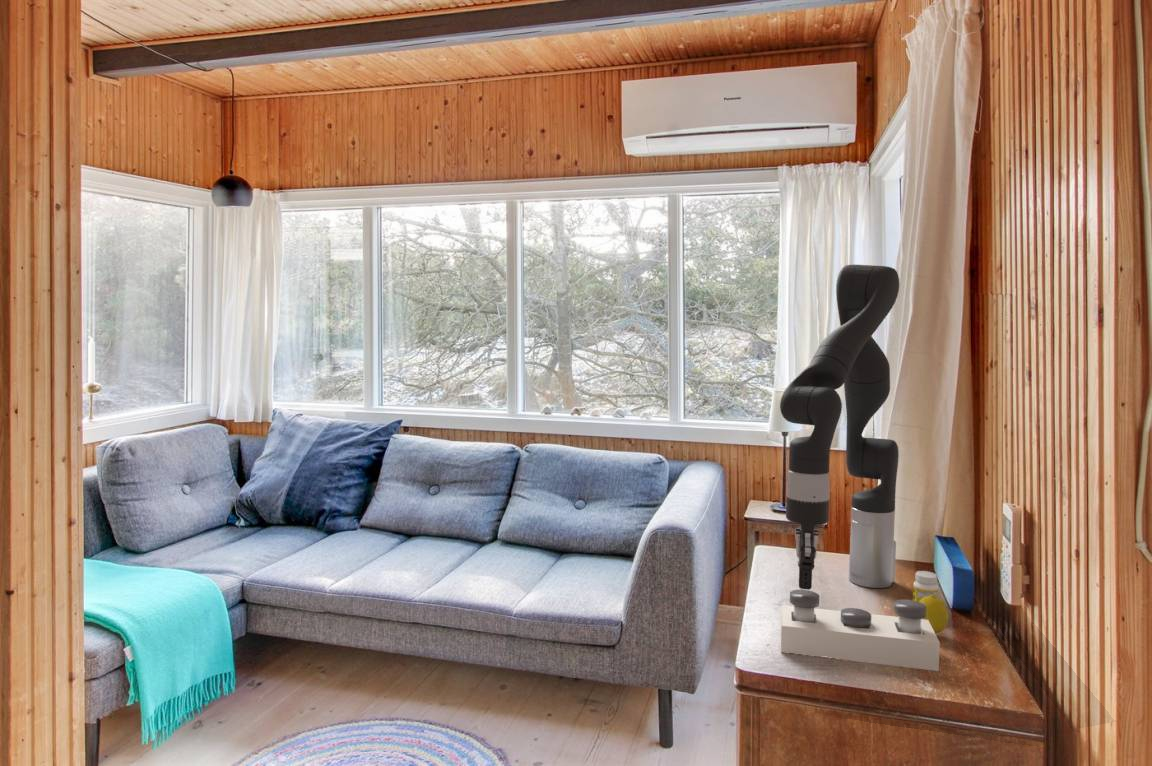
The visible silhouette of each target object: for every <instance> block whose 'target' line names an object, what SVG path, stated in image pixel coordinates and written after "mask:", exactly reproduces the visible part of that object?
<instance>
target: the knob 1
mask: <svg viewBox="0 0 1152 766" xmlns="http://www.w3.org/2000/svg"><path fill="white" fill-rule="evenodd" d="M789 603H790V604H791V605H792V606H794V621H799V622H808V623H814V608H815V609H816V608H818V607H819V605H820V595H819V594H818V593H817V592H815V591H812V590H808V589H794V590H791V591H790V592H789Z"/></svg>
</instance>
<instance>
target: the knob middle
mask: <svg viewBox="0 0 1152 766" xmlns="http://www.w3.org/2000/svg"><path fill="white" fill-rule="evenodd" d="M840 611H841V622H842V623H844V624H845V626H846V627H856V628H865V629H866V627H869V626H870V625H871V614H872V613H870V612H869V611H867V610H864V609H862V608H856V607H855V608H854V607H845V608H843V609H841V610H840Z"/></svg>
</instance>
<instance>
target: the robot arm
mask: <svg viewBox="0 0 1152 766" xmlns="http://www.w3.org/2000/svg"><path fill="white" fill-rule="evenodd" d="M835 286H836V288H835V289H836V290H835V293H836V294H835V295H836V304H837V311H838V318H839V325H840V326H839V327H837V328H836V329H834V330H832V332H830V333H829V334H828V335H827V336H826V337H824V339H823V340H822V341H821V342H820V344H819V345H818V348H817V350H816V351H815V353H814V355H813V357H812V359H811V361H810V363H809V365H807V366H806V367H804V369H803V370H802V371H801V372H800V373H799V374H798V375H797V376H796V377H795V378H794V379H793V380H792V381H791V382H790V383H789V385H787V386H786V388H785V389H784V391H783V393H782V395H781V398H780V404H779V409H780V413H781V416H782V417H783V419H784V420H785V421H787V422H789V423H792V424H796V425H805V426H806V425H808V426H814V427H813V430H812V432H811V434H810V436H799V437H795V438H793V439H792V440H791V441H790V443H789V453H788V474H787V478H786V496H785V497H786V499H785V501H786V502H785V505H786V506H785V518H786V519H787V521H789V522H790V523H794V524H799V527H796V528H795V529H794V530H795V531H794V535H795V542H796V543H795V547H796V548H795V552H796V557H797V558H798V561H797V567H798V570H799V571H798V587H799V589H800V590H809V591H811V589H812V587H813V586H812V583H813V580H812V579H813V571H814V569H815V559H816V558H817V550H818V549H817V547H818V544H819V533H818V532H819V531H818V529H815V526H823V525H826V524H827V523H828V522H829V520H830V497H831V496H830V494H831V492H830V491H831V482H830V481H831V480H830V452H831V447H832V443H833V439H834V435H835V432H836V429H837V426H838V424H839V420H840V417H841V415H842V408H843V404H842V403H843V402H842V400H841V399H842V398H841V397H840V394H839V393H838V391H836V390H837V389H840V388H841V387H842V386H843V388H844V389H843V390H844V398H845V399H844V400H845V411H846V439H845V440H846V444H845V447H846V448H845V461H846V464H845V465H846V470H847V472H848V473H849V476H850V475H851V476H853V477H855V478H862V479H869V480H870V479H873V480H880V483H879V484H878V485H877V486H874V487H872V488H870V489H865V490H861V491H860V490H859V491H857V492H854V493H853V494H852V497H851V509H850V511H851V512H850V539H849V542H850V543H849V564H848V565H849V568H848V573H849V574H848V580H849V581H850V582H852V584H855V585H857V586H860V587H861V586H862V587H865V588H873V589H884V588H889V587H891V586H892V585H893V583H895V580H896V579H895V578H896V554H897V553H896V552H897V542H896V541H895V523H896V522H895V519H896V518H895V517H896V516H895V515H896V488H897V477H898V467H899V456H900V455H899V446H898V443H897V442H896V441H895V440H893V439H888V438H887V439H886V438H878V437H876V438H875V437H865V436H863V433H864V431H865V428H866V427H867V424H869V421H870V420H871V419H872V418H873V416H874V415H876V413H877V412H878V411H879V410H880V408H881V407H882V406H883V405H884V403H885V402H886V401H887V399H888V397H889V396H890V395H889V394H890V391H891V370H890V369H891V368H890V362H889V361H888V360H889V359H888V358H887V356H886V354H885V353H884V351H883V350H882V348H881V346H879V344H878V342H876V340H875V339H874V337H873V336H872V335H874V333H875V332H876V331H877V330H878V328H879V327H880V326H881V324H882V322H883V321H884V320H885V319H886V318H887V316H888V315H889V313H890V312H891V310H892V308H893V307H894V305H895V304H896V301H897V299H898V295H899V292H900V277H899V273H898V271H897V270H896V269H895V268H893V267H892V266H885V265H870V264H869V265H868V264H847V265H845V266H843V267H842V268H841V269H840V270H839V272H838V275H837V279H836V285H835Z"/></svg>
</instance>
